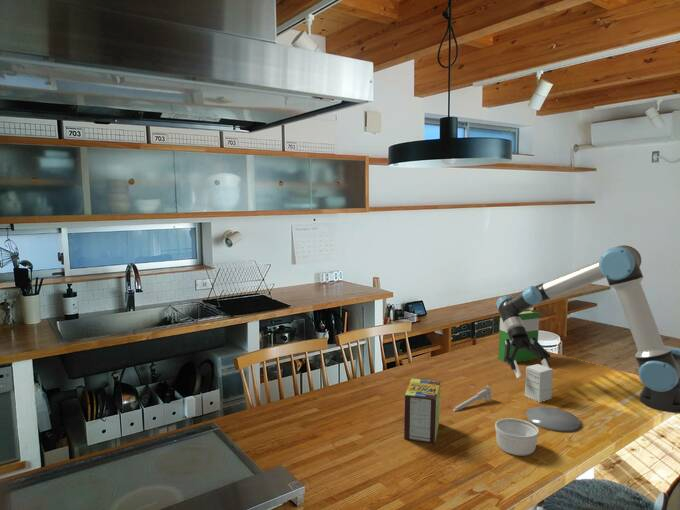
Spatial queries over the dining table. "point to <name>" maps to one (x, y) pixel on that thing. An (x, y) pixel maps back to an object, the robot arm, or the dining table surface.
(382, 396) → the dining table surface
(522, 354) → the green white box
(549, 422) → the disc
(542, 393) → the supplement box
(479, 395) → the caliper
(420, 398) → the protein box
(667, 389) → the robot arm
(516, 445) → the ramekin
